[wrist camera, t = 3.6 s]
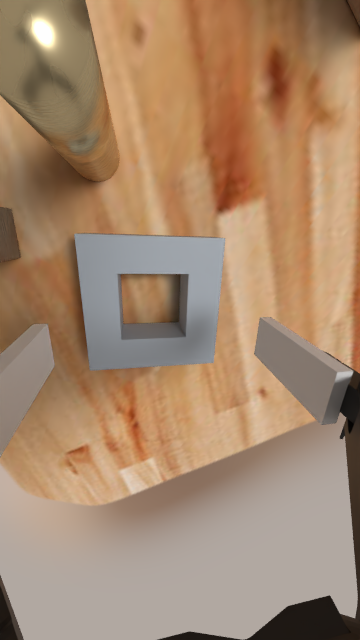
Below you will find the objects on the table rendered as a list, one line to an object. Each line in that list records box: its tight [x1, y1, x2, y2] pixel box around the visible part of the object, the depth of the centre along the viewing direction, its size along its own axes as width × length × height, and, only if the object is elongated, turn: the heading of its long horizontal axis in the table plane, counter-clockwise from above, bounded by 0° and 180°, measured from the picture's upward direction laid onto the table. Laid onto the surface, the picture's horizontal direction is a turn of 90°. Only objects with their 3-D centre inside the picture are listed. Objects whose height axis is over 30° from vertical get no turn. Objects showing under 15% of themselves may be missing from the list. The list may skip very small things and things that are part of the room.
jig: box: [74, 233, 225, 370], centre depth 23 cm, size 12×12×4 cm
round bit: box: [0, 0, 119, 182], centre depth 13 cm, size 4×4×14 cm
